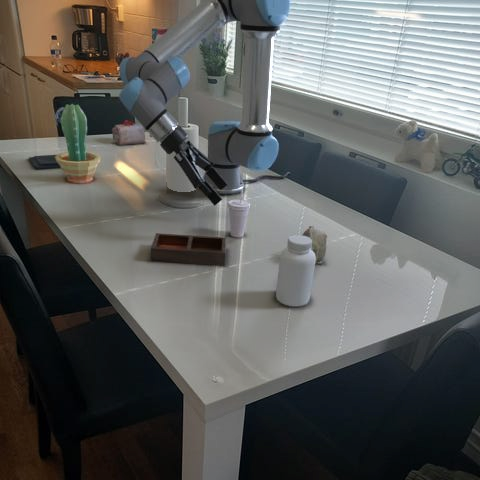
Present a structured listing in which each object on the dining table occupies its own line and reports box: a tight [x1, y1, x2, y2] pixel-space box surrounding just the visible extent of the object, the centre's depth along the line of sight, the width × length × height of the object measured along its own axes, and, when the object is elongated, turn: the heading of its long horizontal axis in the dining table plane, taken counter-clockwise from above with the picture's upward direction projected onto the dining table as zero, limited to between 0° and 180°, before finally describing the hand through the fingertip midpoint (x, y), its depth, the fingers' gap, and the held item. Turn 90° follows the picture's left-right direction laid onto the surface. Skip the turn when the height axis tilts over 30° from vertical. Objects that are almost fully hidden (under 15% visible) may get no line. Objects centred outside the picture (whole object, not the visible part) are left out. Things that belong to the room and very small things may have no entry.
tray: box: [150, 232, 227, 266], centre depth 132 cm, size 10×19×4 cm, turn 90°
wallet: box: [28, 154, 61, 170], centre depth 196 cm, size 20×2×15 cm
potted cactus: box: [54, 103, 101, 184], centre depth 174 cm, size 15×15×25 cm
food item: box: [111, 119, 146, 146], centre depth 227 cm, size 14×8×10 cm, turn 123°
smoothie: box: [227, 187, 251, 238], centre depth 144 cm, size 6×6×14 cm
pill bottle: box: [275, 234, 316, 307], centre depth 113 cm, size 8×8×15 cm
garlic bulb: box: [301, 225, 328, 264], centre depth 134 cm, size 9×8×10 cm
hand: (221, 194), depth 141 cm, fingers open, 13 cm apart
